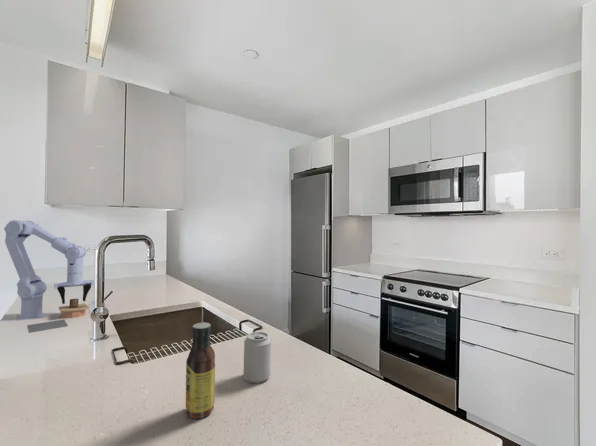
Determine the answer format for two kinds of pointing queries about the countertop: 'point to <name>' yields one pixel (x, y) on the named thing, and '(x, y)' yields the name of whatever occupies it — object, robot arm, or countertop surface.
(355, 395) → the countertop surface
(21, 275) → the robot arm
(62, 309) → the lid
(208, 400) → the sauce bottle
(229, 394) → the countertop surface
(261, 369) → the can
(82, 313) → the bowl
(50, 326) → the mat
